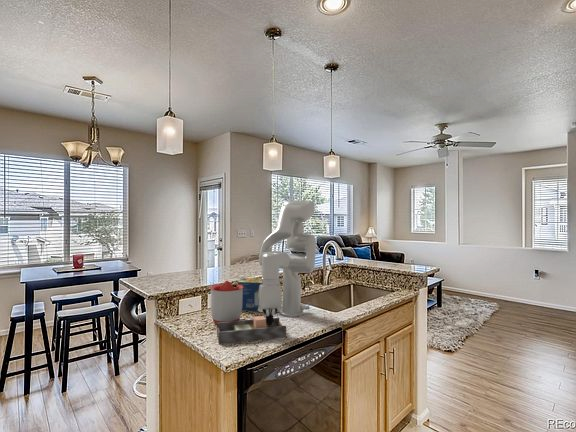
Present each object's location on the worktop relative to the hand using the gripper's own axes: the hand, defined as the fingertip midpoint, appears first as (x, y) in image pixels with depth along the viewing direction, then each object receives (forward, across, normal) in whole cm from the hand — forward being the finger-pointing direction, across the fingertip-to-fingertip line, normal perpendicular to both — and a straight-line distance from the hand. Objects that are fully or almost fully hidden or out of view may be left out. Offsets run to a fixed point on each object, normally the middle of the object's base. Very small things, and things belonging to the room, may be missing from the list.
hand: (269, 323), depth 136 cm
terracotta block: (+1, +4, 0) cm, 5 cm away
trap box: (+4, +8, 0) cm, 9 cm away
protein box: (+4, 0, -39) cm, 39 cm away
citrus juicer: (+4, +16, -20) cm, 26 cm away
